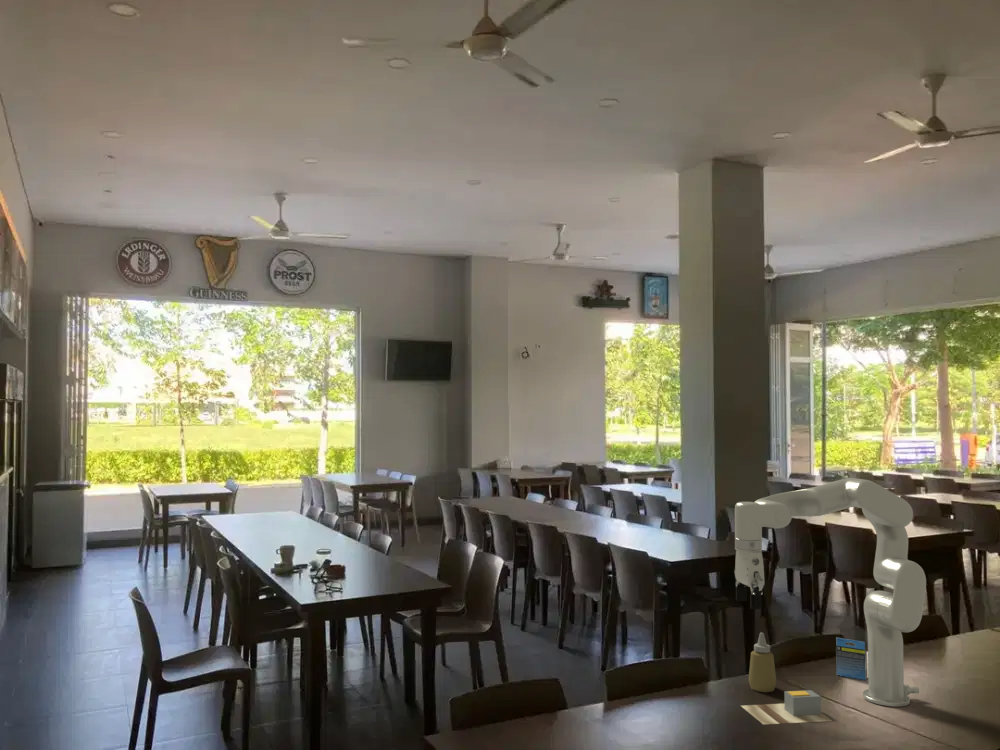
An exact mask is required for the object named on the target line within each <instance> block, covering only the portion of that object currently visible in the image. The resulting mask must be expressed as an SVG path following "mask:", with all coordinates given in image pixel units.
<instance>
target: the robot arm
mask: <svg viewBox="0 0 1000 750" xmlns="http://www.w3.org/2000/svg"><path fill="white" fill-rule="evenodd" d="M849 508H858V509H861V510H862V513H863V516H864V517H865V518H866V519H867V520H868V521H869V523H870V524H871V525H872V526H873V528H874V531H875V533H876V546H875V547H876V549H875V556H874V563H873V572H872V573H873V577H874V578H873V579H874V580H875V581H876V583H878V584H879V585H880V586H883V587H886V588H887V589H890V590H893V593H892V592H889V591H885V590H874V591H871V592H869V593H868V594H867V595H866V597H865V599H864V601H863V613H864V619H865V623H866V624H865V625H866V628H867V629H866V631H867V678H868V679H867V680H868V689H865V690H864V691H863V692H862V697H863V698H864V699H865V700H866V701H868V702H870V703H873V704H876V705H880V706H885V707H886V706H887V707H893V708H895V707H896V708H897V707H900V708H901V707H906V706H909V705H910V704H911V697H909V695H910V694H919V693H920V687H918V686H910V685H909V684H905V679H904V678H905V675H904V671H905V669H904V638H903V634H902V633H910V632H913V631H915V630H916V629H917V628H918V627H919V626H920V624H921V620H922V618H923V611H924V604H925V597H926V590H927V578H926V574H925V571H924V569H923V568H922V566H920V565H919V563H917V562H915V561H912V560H909V559H908V555H909V535H908V532H907V529H906V527H908V525H910V524H911V522H912V521H913V518H914V512H913V511H914V510H913V508H912V506H911V505H910V503H909V502H908V501H907V500H905V499H904V498H903V497H900V496H899V495H897V494H895V493H893V492H891V491H890V490H889V489H887V488H885V487H883V486H882V485H880V484H878V483H876V482H874V481H872V480H869V479H863V478H855V477H846V478H842V479H837V480H834V481H831V482H828V483H824V484H820V485H816V486H813V487H807V488H803V489H798V490H792V491H786V492H780V493H775V494H771V495H769V496H766V497H765V496H764V497H762V498H759V499H756V500H755V501H754V502H753V501H738V502H736V504H735V505H734V550H735V565H734V566H735V567H734V572H733V573H734V580H735V584H734V585H735V601H737V602H747V601H748V587H749V588H750V593H751V594H750V595H749V596H750V598H749V599H750V606H749V607H750V609H751V610H762V609H763V591H764V586H765V570H764V569H765V567H764V566H765V565H764V557H763V552H762V551H763V528H771V529H783V528H785V527H787V526H789V524H790V523H791V521H792V517H820V516H821V517H822V516H825V515H829V514H832V513H835V512H838V511H842V510H846V509H849Z"/></svg>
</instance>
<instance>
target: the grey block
mask: <svg viewBox="0 0 1000 750" xmlns="http://www.w3.org/2000/svg"><path fill="white" fill-rule="evenodd" d="M783 693H784V703H785V710H786V711H787V712H789V713H790V714H791V715H793V716H806V715H821V713H822V712H821V711H822V710H821V709H822V707H821V696H820V695H819V694H818V693H816V692H815V691H813V690H811V689H807V690H805V689H804V690H788V691H784V692H783Z"/></svg>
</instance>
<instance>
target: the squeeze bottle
mask: <svg viewBox="0 0 1000 750" xmlns="http://www.w3.org/2000/svg"><path fill="white" fill-rule="evenodd" d="M758 635H759V636H758V639H757V643H755V644H754V645H753V650H752V651H751V652H750V660H749V670H748V683H749V686H750V689H751V690H754V691H756V692H760V693H770V692H774V691H775V687H776V685H777V677H776V675H777V674H776V668H775V658H774V654H773V653H772V652H771V645H769V644H767V641H766V636H765V633H764V632H760V633H759V634H758Z"/></svg>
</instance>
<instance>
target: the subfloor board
mask: <svg viewBox="0 0 1000 750" xmlns="http://www.w3.org/2000/svg"><path fill="white" fill-rule="evenodd" d="M740 707H742V709H744V710H745V712H748V714H750V715H751V716H752V717H754V718H755V720H757V721H759V722H760V723H761V724H762V725H763V726H764V725H780V724H782V725H783V724H795V723H796V724H798V723H800V724H801V723H816V722H818V723H819V722H832V721H833V720H832V718H830V717H829V716H827V715H825V714H824V713H822V712H821V715H806V716H793V715H791V714H790V713H789V712H787V711H786V710H785V702H783V703H767V704H748V705H747V704H746V705H740Z"/></svg>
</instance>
